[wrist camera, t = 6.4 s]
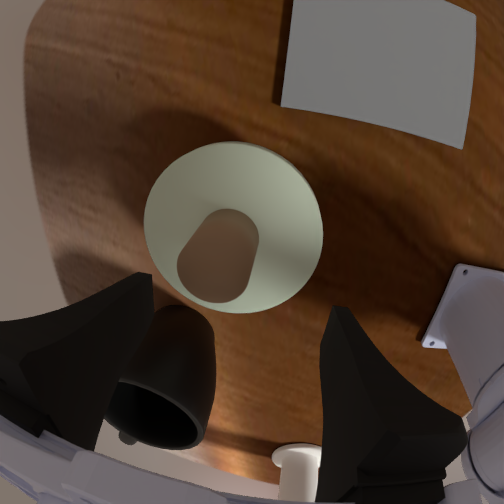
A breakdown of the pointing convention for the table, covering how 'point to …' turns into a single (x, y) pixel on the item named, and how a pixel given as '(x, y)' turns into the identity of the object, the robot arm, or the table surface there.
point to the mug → (167, 383)
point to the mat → (384, 64)
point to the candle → (298, 471)
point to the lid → (234, 227)
